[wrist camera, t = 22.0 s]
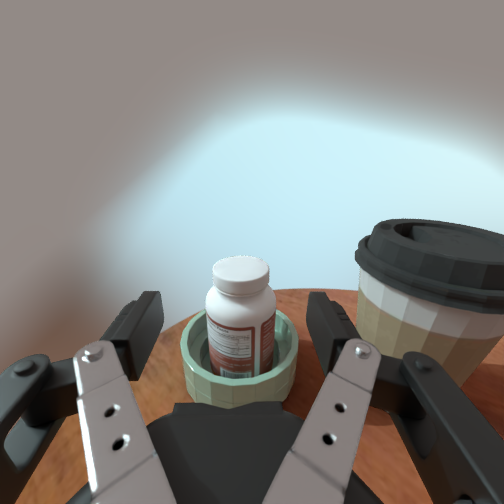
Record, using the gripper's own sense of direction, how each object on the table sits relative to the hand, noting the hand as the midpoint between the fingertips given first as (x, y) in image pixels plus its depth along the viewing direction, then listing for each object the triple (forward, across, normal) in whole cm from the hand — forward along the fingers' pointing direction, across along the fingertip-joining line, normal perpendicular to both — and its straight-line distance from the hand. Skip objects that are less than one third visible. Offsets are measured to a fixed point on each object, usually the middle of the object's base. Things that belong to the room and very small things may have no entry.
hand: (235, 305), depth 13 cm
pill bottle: (+7, 0, +12) cm, 14 cm away
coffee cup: (+5, -15, +13) cm, 20 cm away
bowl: (+7, 0, +13) cm, 14 cm away
